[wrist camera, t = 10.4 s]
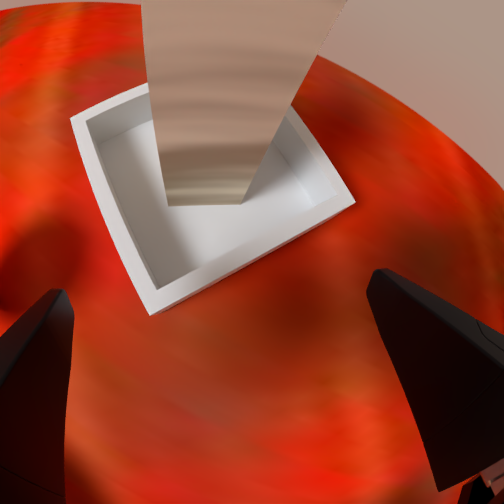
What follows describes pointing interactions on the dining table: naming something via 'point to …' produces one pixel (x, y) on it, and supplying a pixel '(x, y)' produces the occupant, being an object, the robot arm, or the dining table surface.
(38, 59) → the dining table surface
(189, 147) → the birch block
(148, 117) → the box
